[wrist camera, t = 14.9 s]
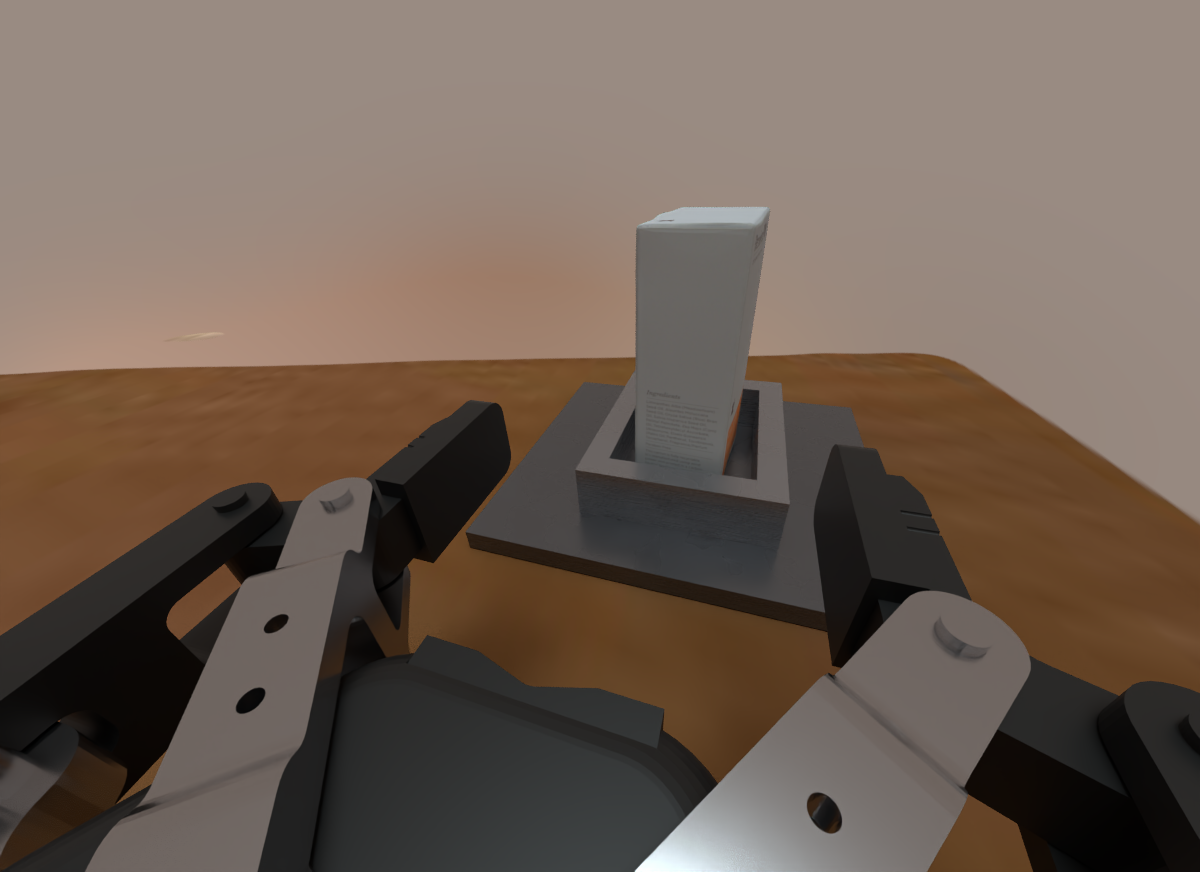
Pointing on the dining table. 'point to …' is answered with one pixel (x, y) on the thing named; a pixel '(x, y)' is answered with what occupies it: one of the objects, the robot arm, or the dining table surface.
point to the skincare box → (694, 331)
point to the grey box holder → (676, 504)
